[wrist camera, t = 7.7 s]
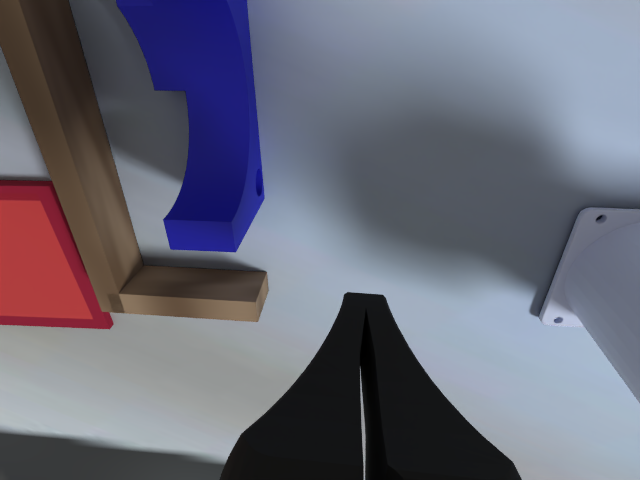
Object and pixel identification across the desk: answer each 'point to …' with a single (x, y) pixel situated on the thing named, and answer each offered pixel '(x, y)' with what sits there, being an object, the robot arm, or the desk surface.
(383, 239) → the desk surface
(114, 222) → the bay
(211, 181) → the blue curved bracket
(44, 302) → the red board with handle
